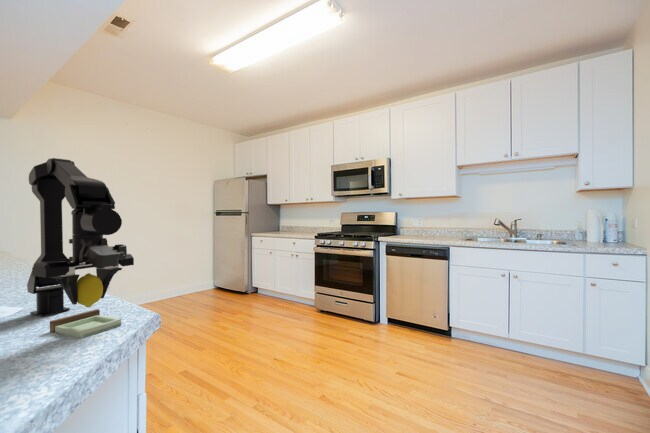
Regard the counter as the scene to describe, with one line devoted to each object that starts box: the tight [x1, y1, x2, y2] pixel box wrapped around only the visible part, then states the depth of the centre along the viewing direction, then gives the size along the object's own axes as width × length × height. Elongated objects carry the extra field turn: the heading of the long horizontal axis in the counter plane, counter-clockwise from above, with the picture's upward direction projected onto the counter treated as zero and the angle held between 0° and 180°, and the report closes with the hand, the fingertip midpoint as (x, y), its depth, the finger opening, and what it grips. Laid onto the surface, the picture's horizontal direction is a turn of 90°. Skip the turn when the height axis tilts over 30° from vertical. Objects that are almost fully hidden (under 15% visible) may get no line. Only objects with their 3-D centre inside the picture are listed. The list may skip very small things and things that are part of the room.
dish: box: [54, 315, 122, 340], centre depth 73 cm, size 9×9×2 cm
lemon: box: [77, 273, 103, 309], centre depth 73 cm, size 6×6×8 cm
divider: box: [49, 309, 101, 333], centre depth 76 cm, size 1×10×2 cm, turn 156°
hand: (88, 301), depth 73 cm, fingers closed on lemon, 5 cm apart
